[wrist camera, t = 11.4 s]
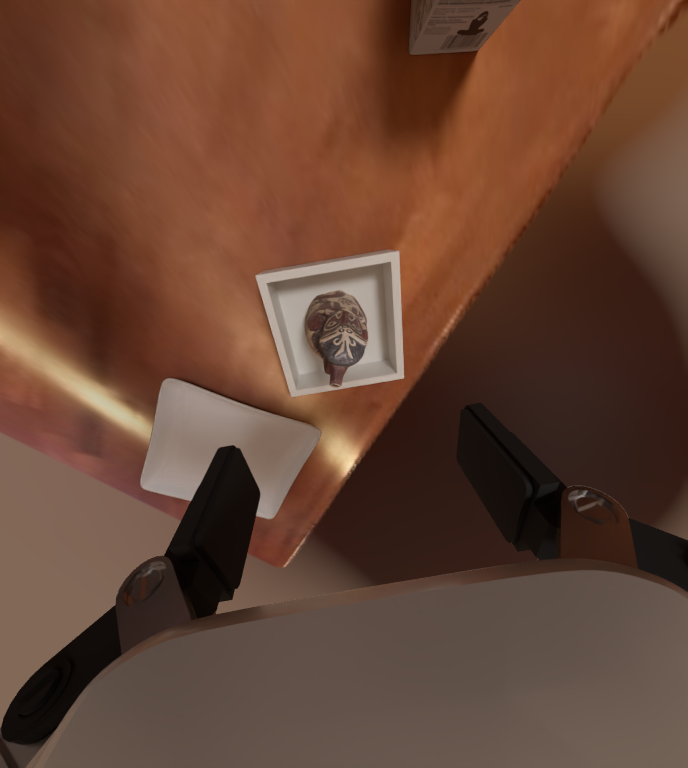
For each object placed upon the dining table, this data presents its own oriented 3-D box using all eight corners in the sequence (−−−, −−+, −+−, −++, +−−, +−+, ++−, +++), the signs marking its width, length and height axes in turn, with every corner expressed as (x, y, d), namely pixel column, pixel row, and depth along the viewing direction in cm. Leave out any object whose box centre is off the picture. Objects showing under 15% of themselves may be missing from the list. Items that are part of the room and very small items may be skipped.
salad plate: (174, 364, 33) (160, 376, 30) (324, 417, 39) (324, 432, 36) (150, 472, 42) (136, 490, 39) (276, 503, 48) (273, 521, 45)
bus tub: (265, 270, 28) (255, 275, 24) (387, 249, 28) (399, 250, 24) (295, 378, 35) (291, 397, 31) (393, 361, 35) (404, 378, 31)
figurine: (374, 304, 30) (402, 336, 20) (351, 356, 33) (365, 409, 23) (316, 280, 29) (313, 302, 18) (297, 338, 32) (285, 385, 21)
